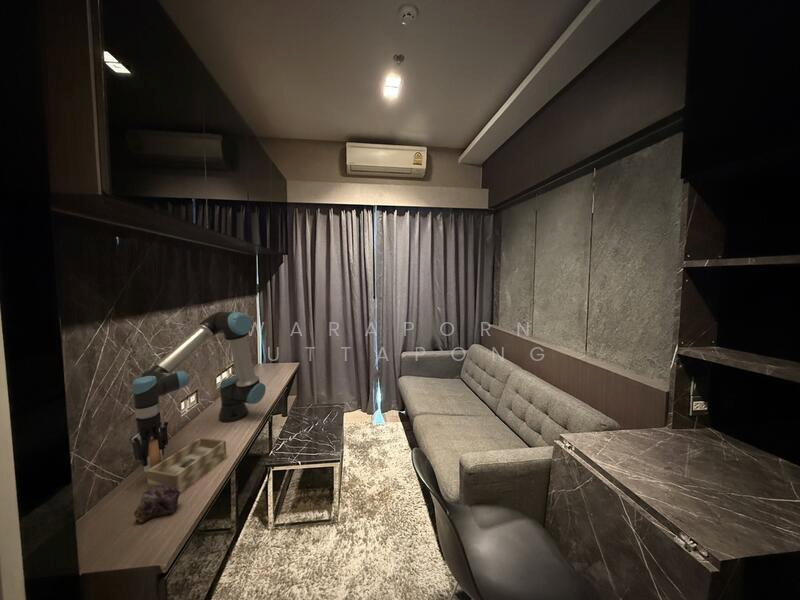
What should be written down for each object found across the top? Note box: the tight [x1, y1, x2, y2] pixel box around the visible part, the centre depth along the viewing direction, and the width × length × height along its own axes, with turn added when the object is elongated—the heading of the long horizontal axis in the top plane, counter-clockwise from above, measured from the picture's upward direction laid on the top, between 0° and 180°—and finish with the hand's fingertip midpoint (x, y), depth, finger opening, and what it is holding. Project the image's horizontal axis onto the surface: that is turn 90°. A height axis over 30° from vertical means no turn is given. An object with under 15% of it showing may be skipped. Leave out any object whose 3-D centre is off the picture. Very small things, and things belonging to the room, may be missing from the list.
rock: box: [133, 484, 181, 523], centre depth 105 cm, size 12×9×10 cm
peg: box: [148, 438, 160, 468], centre depth 123 cm, size 4×4×15 cm
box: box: [146, 437, 227, 494], centre depth 126 cm, size 24×14×8 cm, turn 167°
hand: (154, 467), depth 123 cm, fingers closed on peg, 4 cm apart
